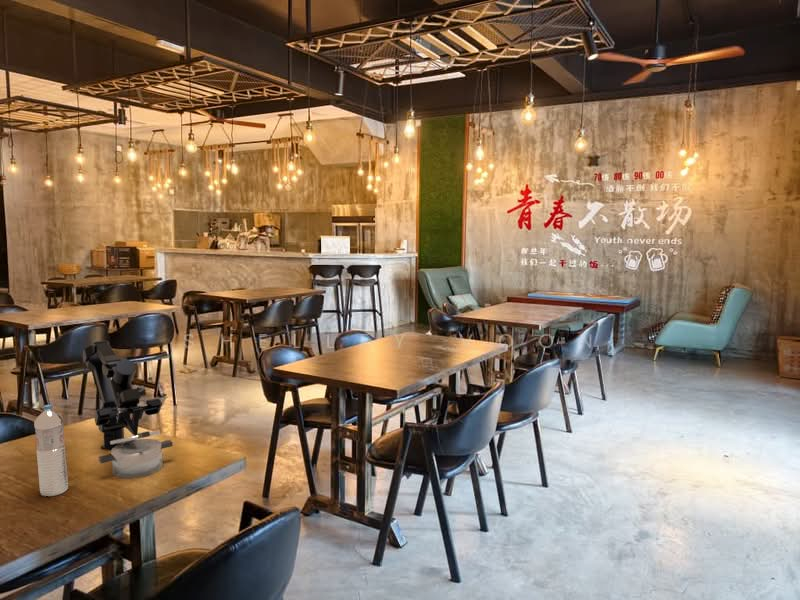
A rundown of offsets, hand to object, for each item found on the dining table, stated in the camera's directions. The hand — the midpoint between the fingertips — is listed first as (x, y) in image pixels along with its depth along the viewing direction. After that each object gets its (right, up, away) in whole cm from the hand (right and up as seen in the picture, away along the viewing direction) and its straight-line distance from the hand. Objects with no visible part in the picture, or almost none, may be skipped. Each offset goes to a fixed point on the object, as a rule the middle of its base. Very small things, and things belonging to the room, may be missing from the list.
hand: (135, 434), depth 174 cm
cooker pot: (0, -11, +1) cm, 11 cm away
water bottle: (-16, -13, -14) cm, 25 cm away
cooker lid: (+1, -1, -1) cm, 2 cm away
